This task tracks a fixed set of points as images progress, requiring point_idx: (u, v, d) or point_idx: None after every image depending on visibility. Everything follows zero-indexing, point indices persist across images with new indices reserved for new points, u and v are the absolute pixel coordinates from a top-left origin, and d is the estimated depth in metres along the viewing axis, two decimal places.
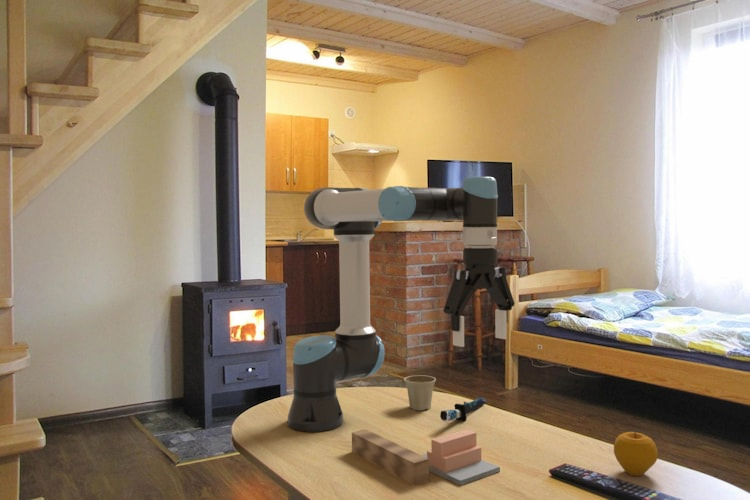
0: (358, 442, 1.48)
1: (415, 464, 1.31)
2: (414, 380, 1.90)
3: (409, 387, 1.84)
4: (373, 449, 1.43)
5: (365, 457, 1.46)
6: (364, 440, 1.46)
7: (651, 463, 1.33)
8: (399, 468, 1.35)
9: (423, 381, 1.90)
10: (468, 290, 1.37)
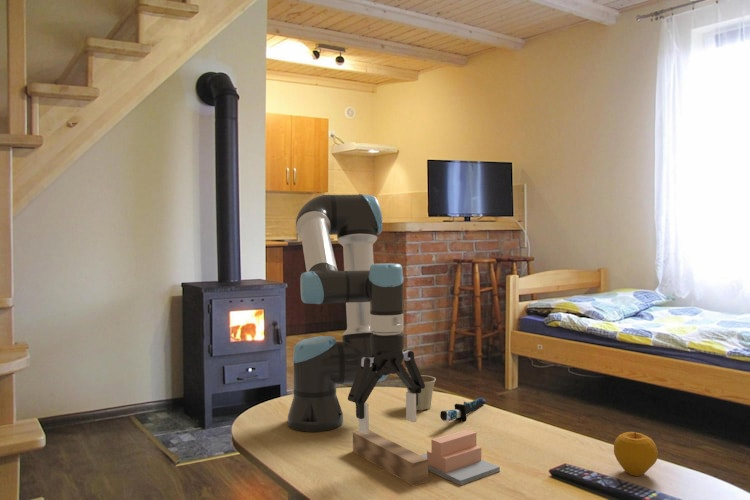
0: (359, 442, 1.49)
1: (413, 464, 1.31)
2: None
3: None
4: (374, 449, 1.43)
5: (366, 457, 1.46)
6: (364, 440, 1.47)
7: (651, 463, 1.33)
8: (398, 468, 1.35)
9: (423, 381, 1.90)
10: (373, 377, 1.38)
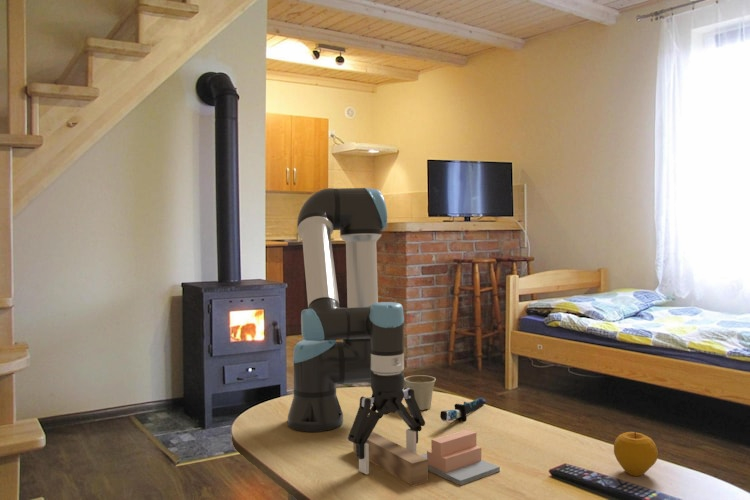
0: None
1: (413, 464, 1.31)
2: (414, 380, 1.90)
3: (409, 387, 1.84)
4: (374, 449, 1.43)
5: None
6: None
7: (651, 463, 1.33)
8: (398, 468, 1.35)
9: (423, 381, 1.90)
10: (373, 417, 1.38)
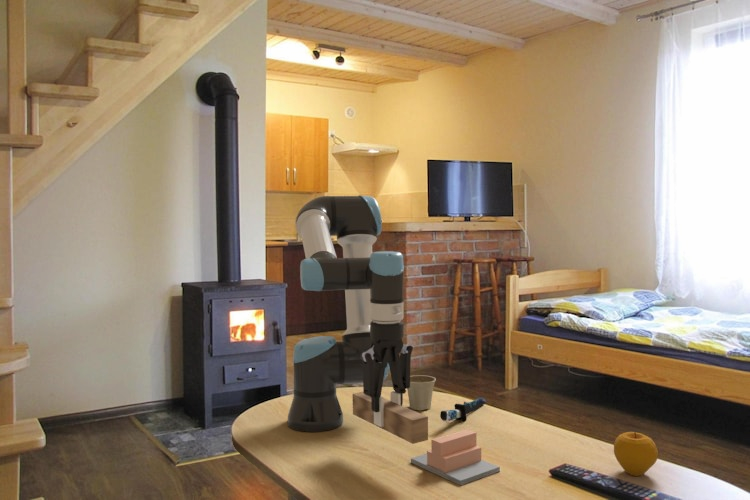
0: (359, 403, 1.49)
1: (413, 421, 1.31)
2: (414, 380, 1.90)
3: (409, 387, 1.84)
4: None
5: (365, 417, 1.46)
6: (364, 401, 1.46)
7: (651, 463, 1.33)
8: (398, 426, 1.35)
9: (423, 381, 1.90)
10: (379, 369, 1.39)
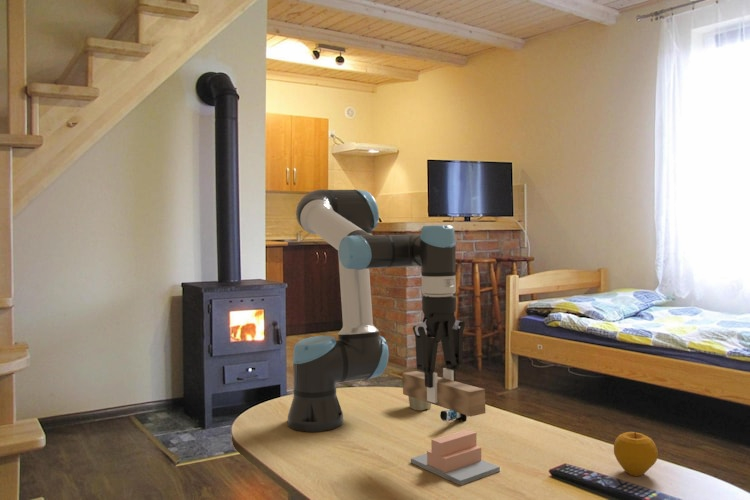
0: (409, 382, 1.46)
1: (471, 393, 1.28)
2: None
3: None
4: None
5: (417, 396, 1.44)
6: (416, 378, 1.44)
7: (651, 463, 1.33)
8: (454, 400, 1.33)
9: None
10: (432, 344, 1.37)
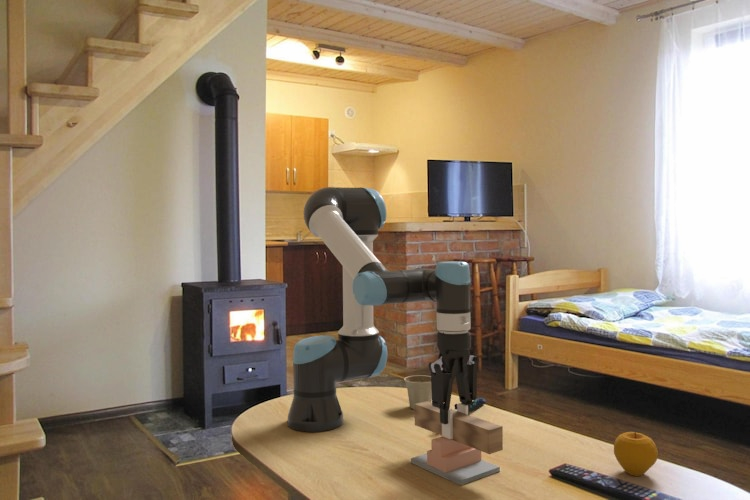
0: (422, 414, 1.46)
1: (489, 431, 1.29)
2: (414, 380, 1.90)
3: (409, 387, 1.84)
4: None
5: (430, 428, 1.44)
6: (429, 411, 1.44)
7: (651, 463, 1.33)
8: (471, 436, 1.33)
9: (423, 381, 1.90)
10: (447, 380, 1.38)
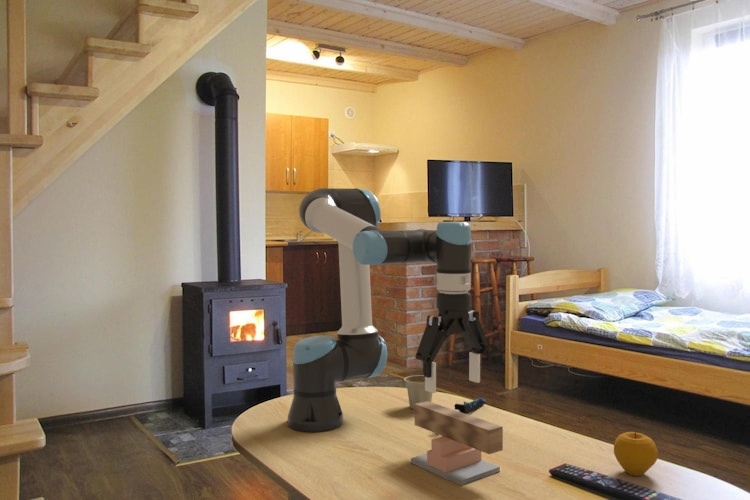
0: (422, 414, 1.46)
1: (489, 431, 1.29)
2: (414, 380, 1.90)
3: (409, 387, 1.84)
4: (440, 420, 1.41)
5: (430, 428, 1.44)
6: (429, 411, 1.44)
7: (651, 463, 1.33)
8: (471, 437, 1.33)
9: (423, 381, 1.90)
10: (440, 336, 1.36)
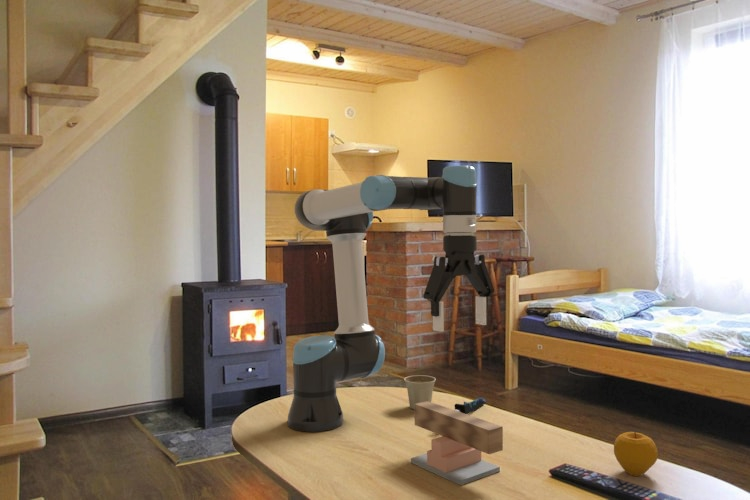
0: (422, 414, 1.46)
1: (489, 431, 1.29)
2: (414, 380, 1.90)
3: (409, 387, 1.84)
4: (440, 420, 1.41)
5: (430, 428, 1.44)
6: (429, 411, 1.44)
7: (651, 463, 1.33)
8: (471, 437, 1.33)
9: (423, 381, 1.90)
10: (447, 276, 1.40)
